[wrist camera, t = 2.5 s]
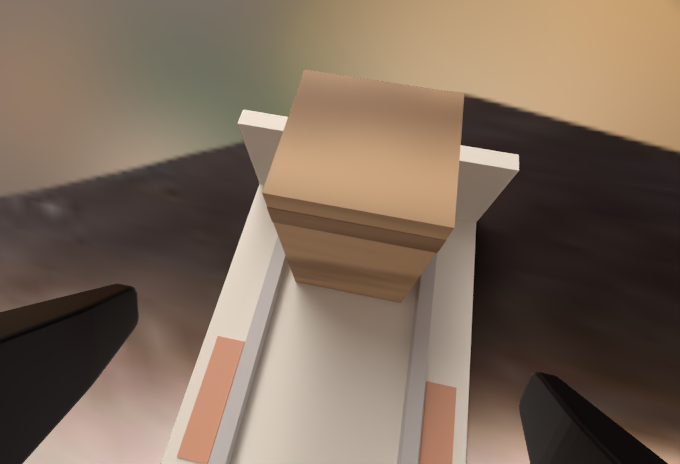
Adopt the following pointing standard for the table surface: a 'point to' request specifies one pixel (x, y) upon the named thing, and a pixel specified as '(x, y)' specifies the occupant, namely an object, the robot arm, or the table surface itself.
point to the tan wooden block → (365, 182)
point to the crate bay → (336, 347)
